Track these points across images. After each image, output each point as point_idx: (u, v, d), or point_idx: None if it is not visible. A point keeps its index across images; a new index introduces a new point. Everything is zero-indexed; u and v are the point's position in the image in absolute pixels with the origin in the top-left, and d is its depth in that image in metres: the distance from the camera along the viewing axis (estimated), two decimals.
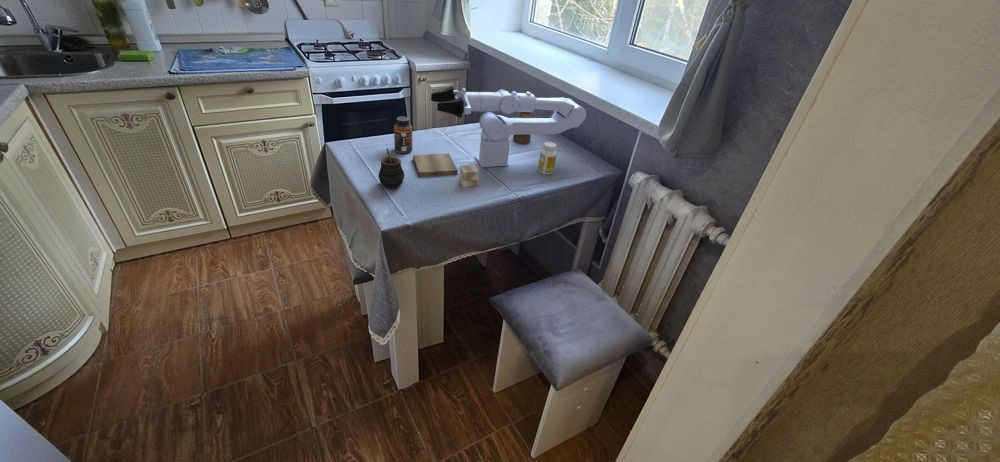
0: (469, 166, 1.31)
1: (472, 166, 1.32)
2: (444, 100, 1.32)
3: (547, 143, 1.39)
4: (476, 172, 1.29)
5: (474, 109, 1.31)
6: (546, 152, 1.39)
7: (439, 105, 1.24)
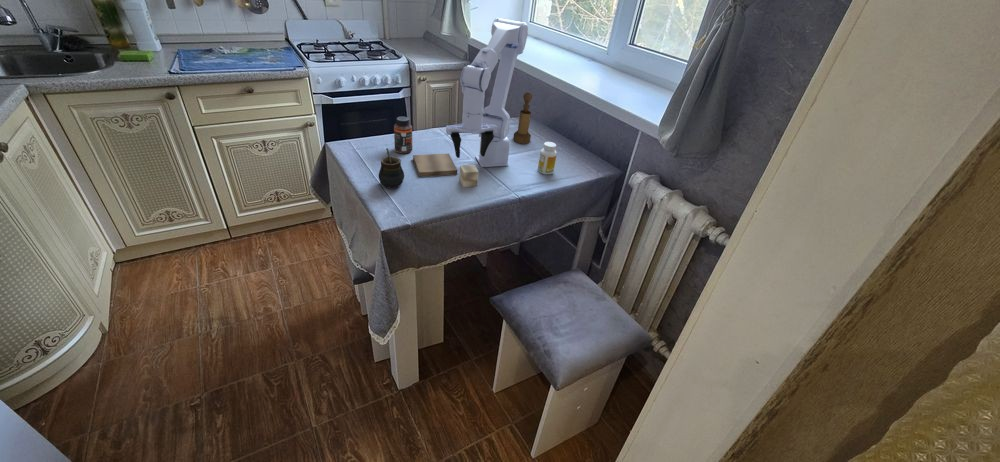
0: (469, 166, 1.31)
1: (472, 166, 1.31)
2: None
3: (547, 143, 1.39)
4: (476, 172, 1.29)
5: None
6: (546, 152, 1.39)
7: None
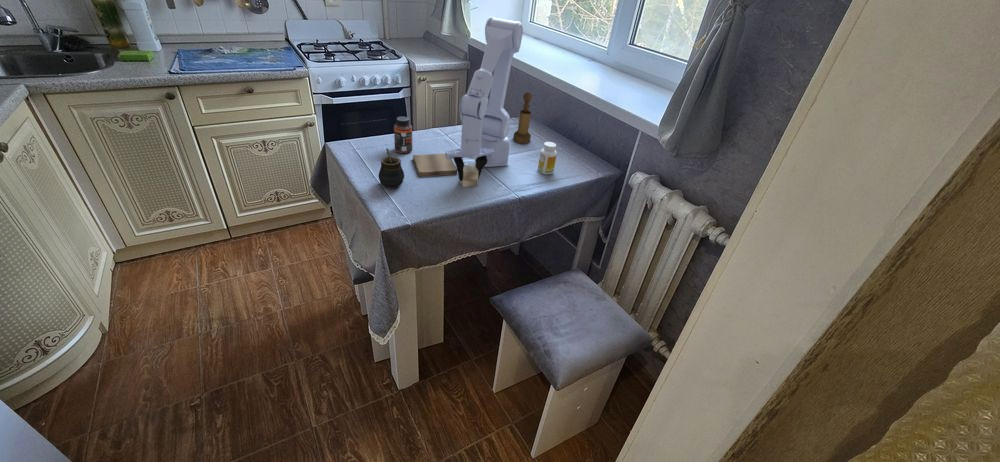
0: (469, 166, 1.31)
1: (472, 166, 1.31)
2: None
3: (547, 143, 1.39)
4: (476, 172, 1.29)
5: None
6: (546, 152, 1.39)
7: None
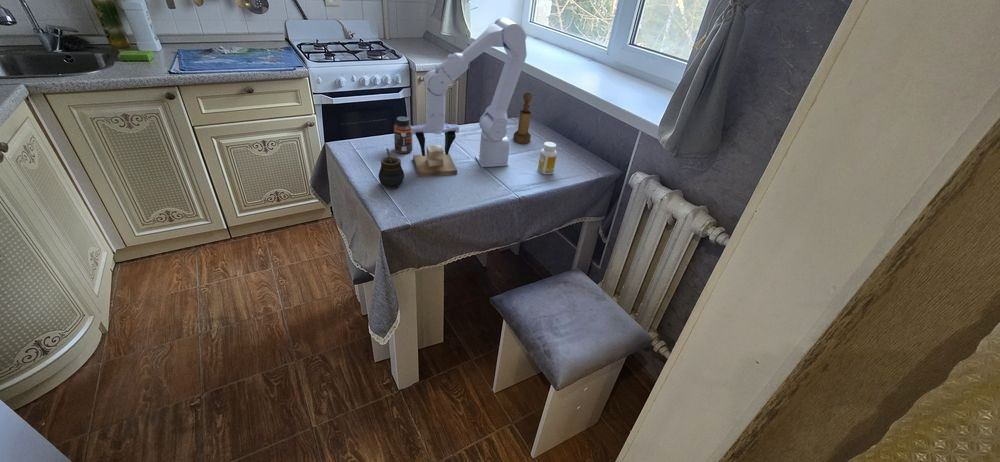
0: (435, 146, 1.37)
1: (438, 146, 1.37)
2: None
3: (547, 143, 1.39)
4: (441, 152, 1.35)
5: None
6: (546, 152, 1.39)
7: (448, 152, 1.37)
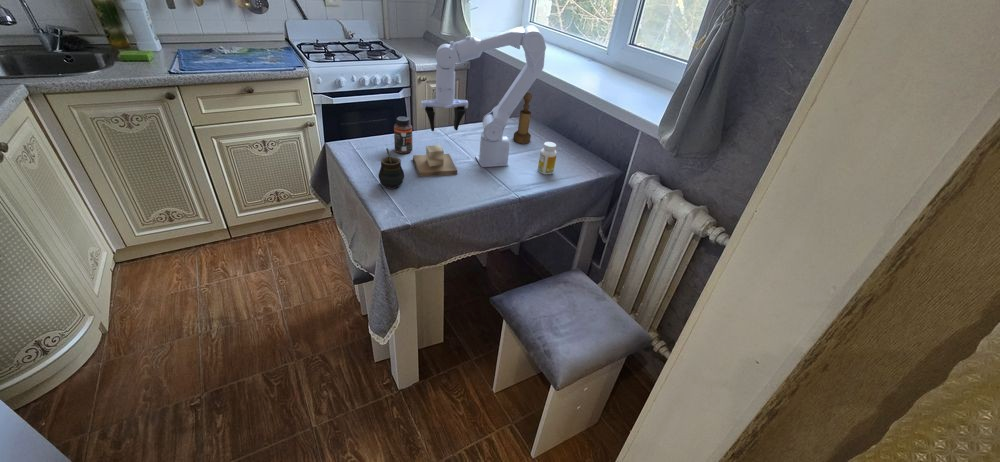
0: (435, 146, 1.37)
1: (438, 146, 1.37)
2: None
3: (547, 143, 1.39)
4: (441, 151, 1.35)
5: None
6: (546, 152, 1.39)
7: None
